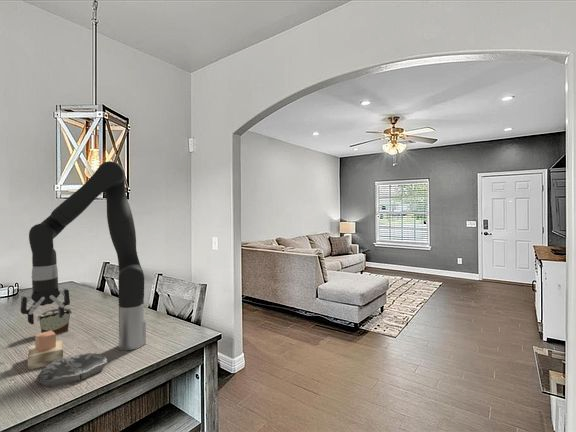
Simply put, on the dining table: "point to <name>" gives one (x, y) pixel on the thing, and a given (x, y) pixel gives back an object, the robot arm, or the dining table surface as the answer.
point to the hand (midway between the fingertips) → (46, 320)
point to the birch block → (44, 355)
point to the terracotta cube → (45, 340)
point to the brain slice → (72, 369)
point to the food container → (54, 321)
